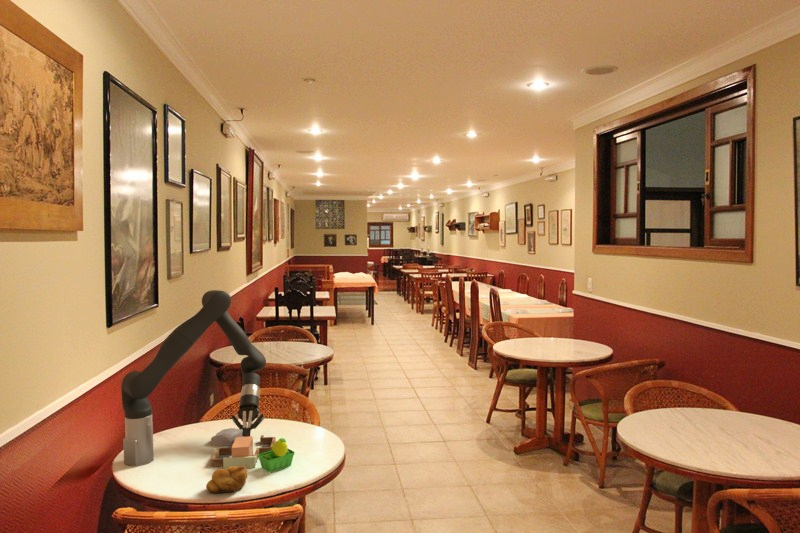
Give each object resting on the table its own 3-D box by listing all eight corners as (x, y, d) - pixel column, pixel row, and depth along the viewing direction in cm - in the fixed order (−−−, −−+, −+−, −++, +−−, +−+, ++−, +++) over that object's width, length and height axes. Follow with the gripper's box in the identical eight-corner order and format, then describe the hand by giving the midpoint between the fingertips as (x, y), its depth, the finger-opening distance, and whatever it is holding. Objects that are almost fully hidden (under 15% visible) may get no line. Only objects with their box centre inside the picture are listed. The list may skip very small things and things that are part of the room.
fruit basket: (284, 459, 211) (283, 429, 211) (298, 466, 205) (297, 435, 204) (256, 468, 203) (256, 437, 203) (270, 476, 197) (269, 444, 196)
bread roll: (206, 498, 181) (206, 473, 180) (205, 486, 190) (205, 462, 189) (248, 491, 185) (247, 467, 185) (245, 479, 194) (245, 456, 194)
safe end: (223, 468, 204) (223, 457, 203) (255, 466, 205) (255, 456, 205) (223, 469, 203) (223, 458, 202) (255, 468, 204) (254, 457, 204)
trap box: (223, 443, 229) (222, 437, 229) (276, 440, 231) (276, 434, 231) (209, 469, 203) (209, 462, 203) (269, 466, 205) (269, 459, 205)
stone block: (209, 449, 228) (232, 445, 226) (207, 437, 228) (230, 433, 226) (224, 440, 239) (245, 436, 238) (221, 428, 239) (243, 425, 238)
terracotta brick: (236, 456, 215) (236, 437, 215) (253, 455, 216) (252, 436, 215) (232, 468, 204) (231, 447, 204) (249, 467, 205) (248, 446, 205)
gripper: (231, 394, 227) (226, 434, 216) (265, 392, 228) (262, 433, 217) (234, 403, 233) (229, 443, 221) (267, 401, 234) (264, 441, 223)
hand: (246, 438), depth 219 cm, fingers closed
